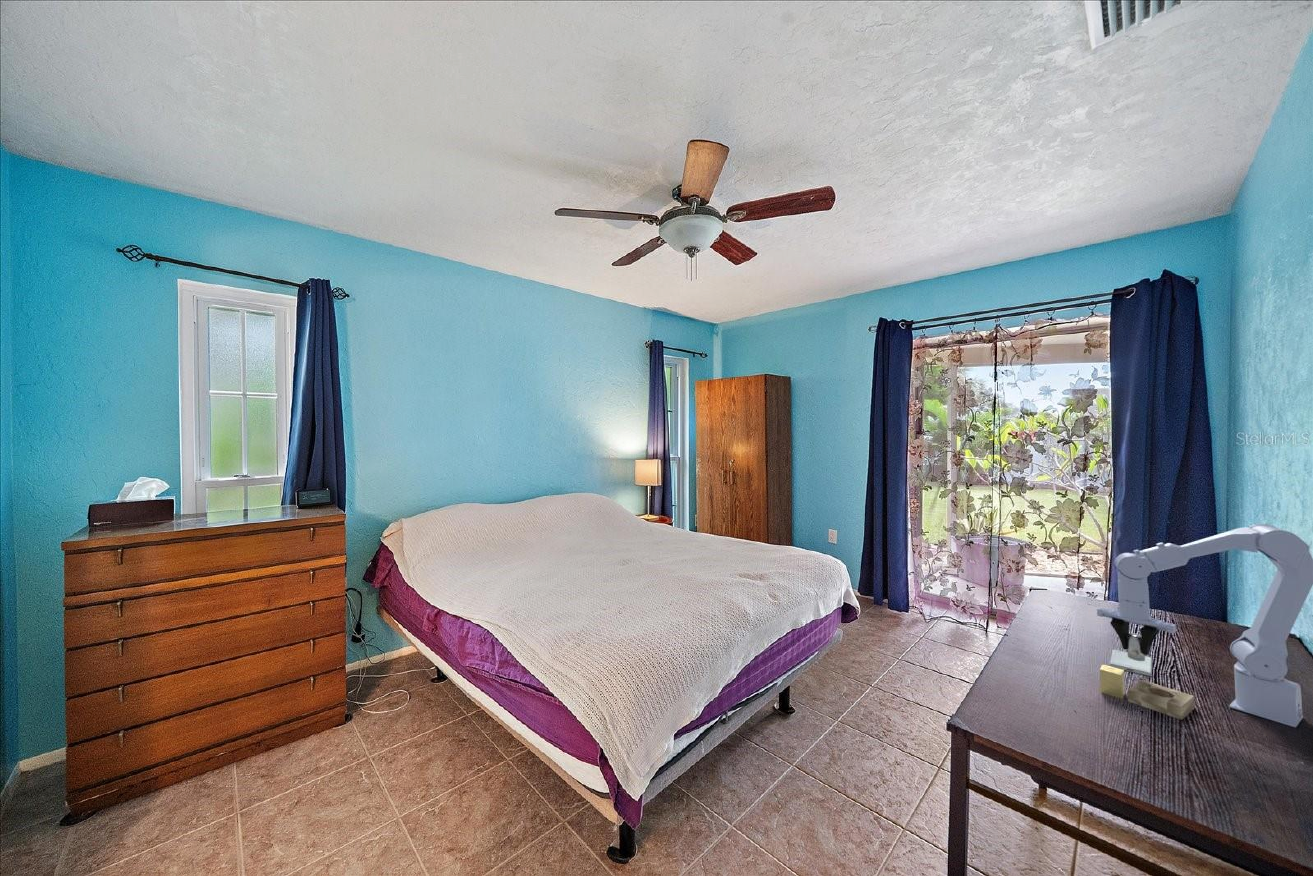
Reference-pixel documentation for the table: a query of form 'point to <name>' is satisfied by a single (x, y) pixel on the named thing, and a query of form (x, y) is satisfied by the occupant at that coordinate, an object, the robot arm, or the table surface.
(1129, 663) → the hard drive
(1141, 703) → the socket block
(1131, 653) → the round peg
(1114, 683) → the square bit
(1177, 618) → the table surface
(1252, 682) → the robot arm
